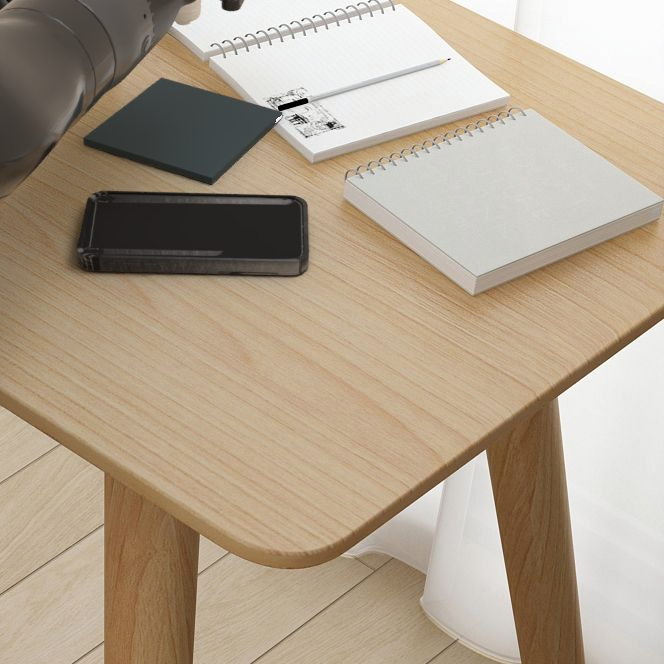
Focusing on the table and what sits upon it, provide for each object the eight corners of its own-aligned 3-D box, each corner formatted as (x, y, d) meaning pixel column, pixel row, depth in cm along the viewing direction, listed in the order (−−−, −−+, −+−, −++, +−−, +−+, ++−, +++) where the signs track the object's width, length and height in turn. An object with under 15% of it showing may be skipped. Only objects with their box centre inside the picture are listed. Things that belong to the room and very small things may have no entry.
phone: (89, 190, 82) (307, 195, 83) (90, 203, 83) (306, 208, 84) (74, 257, 76) (309, 262, 77) (75, 272, 77) (308, 276, 78)
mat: (83, 144, 89) (82, 137, 89) (161, 83, 97) (161, 77, 97) (212, 185, 86) (211, 177, 86) (282, 118, 94) (282, 111, 93)
